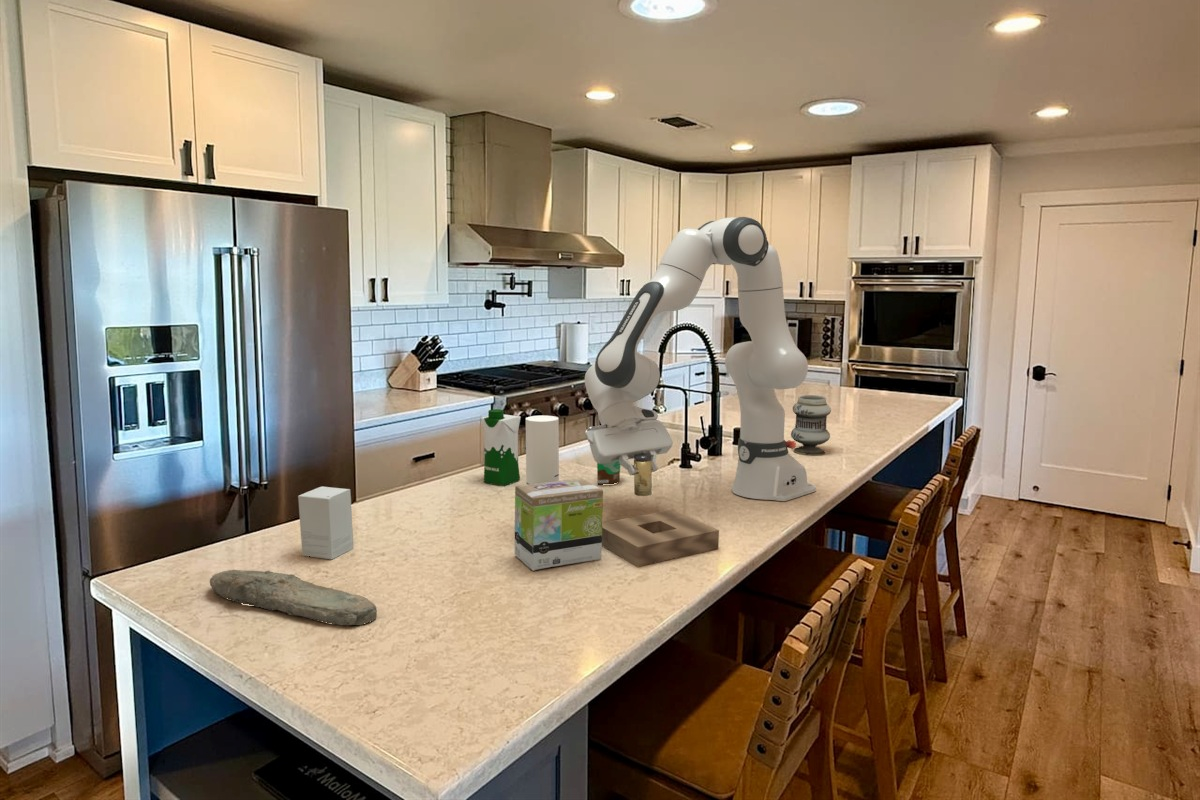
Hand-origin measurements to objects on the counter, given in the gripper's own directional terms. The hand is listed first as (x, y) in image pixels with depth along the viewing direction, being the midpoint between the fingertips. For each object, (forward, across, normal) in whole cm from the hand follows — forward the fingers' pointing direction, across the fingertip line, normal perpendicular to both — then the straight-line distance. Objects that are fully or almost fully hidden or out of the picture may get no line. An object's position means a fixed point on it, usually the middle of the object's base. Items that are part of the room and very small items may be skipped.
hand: (644, 472), depth 172 cm
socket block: (+18, -7, -2) cm, 20 cm away
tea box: (+15, -28, +1) cm, 32 cm away
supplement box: (-4, -67, +18) cm, 69 cm away
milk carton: (-26, -15, +42) cm, 51 cm away
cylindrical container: (+3, -23, +13) cm, 26 cm away
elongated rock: (+12, -77, +2) cm, 78 cm away
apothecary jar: (-13, +85, +32) cm, 92 cm away
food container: (-15, +11, +32) cm, 37 cm away
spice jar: (+3, 0, +4) cm, 5 cm away
